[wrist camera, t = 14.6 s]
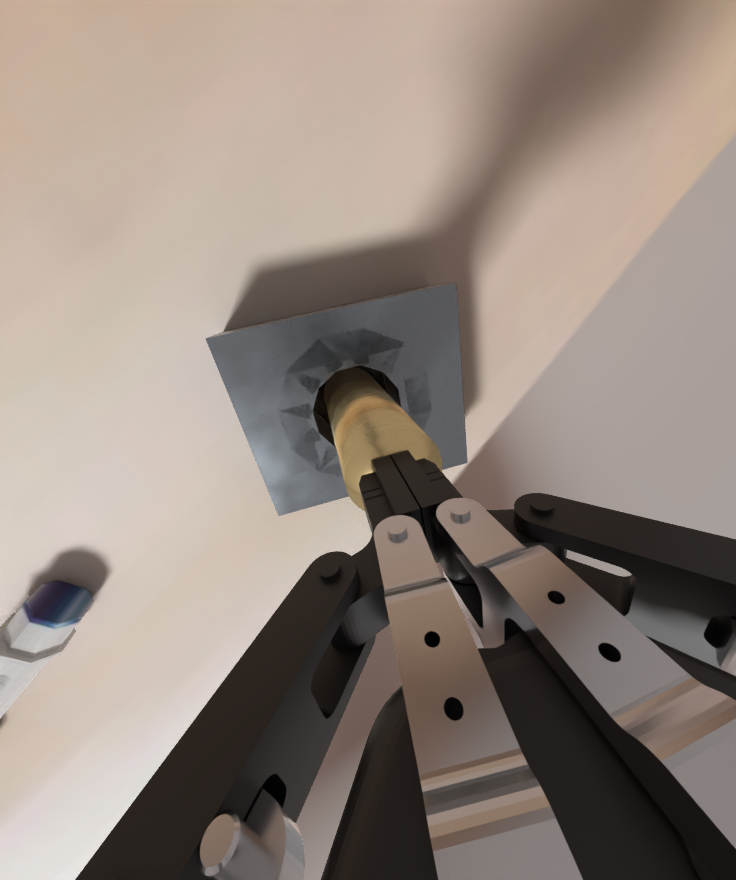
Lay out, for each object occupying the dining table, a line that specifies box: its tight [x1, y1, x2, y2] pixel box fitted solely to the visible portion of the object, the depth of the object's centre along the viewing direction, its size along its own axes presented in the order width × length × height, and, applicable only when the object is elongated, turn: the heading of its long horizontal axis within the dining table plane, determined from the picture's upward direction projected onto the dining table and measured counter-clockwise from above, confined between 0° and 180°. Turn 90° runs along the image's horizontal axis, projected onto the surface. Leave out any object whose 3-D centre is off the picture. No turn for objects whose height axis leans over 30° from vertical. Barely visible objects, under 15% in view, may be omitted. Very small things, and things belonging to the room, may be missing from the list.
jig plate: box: [206, 283, 467, 516], centre depth 21 cm, size 12×14×4 cm
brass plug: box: [324, 367, 442, 511], centre depth 18 cm, size 4×4×12 cm
